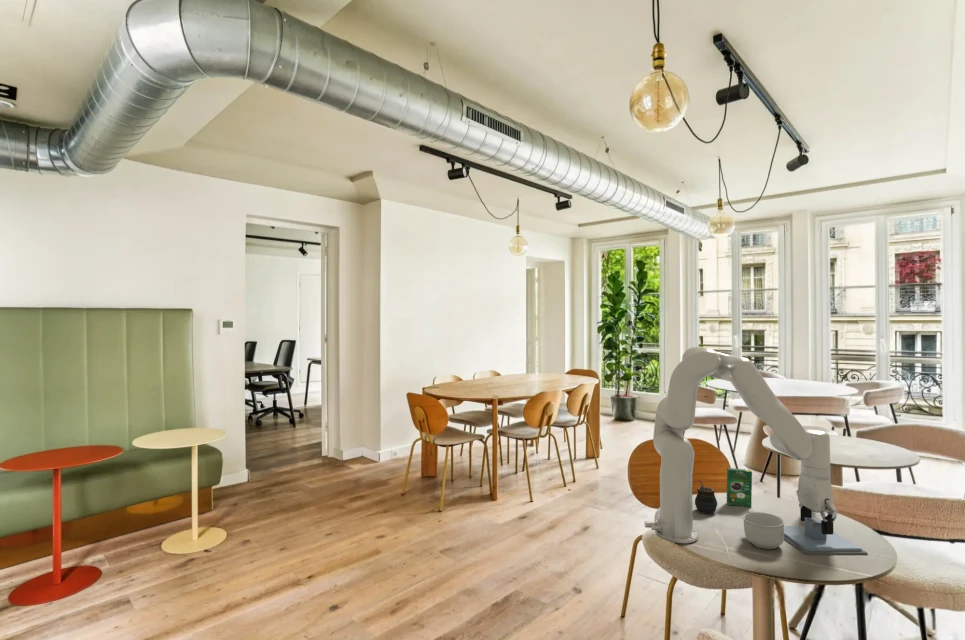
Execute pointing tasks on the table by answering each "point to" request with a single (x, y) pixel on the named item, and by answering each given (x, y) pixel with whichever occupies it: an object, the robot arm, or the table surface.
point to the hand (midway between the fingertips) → (816, 527)
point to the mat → (825, 551)
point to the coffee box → (739, 487)
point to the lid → (817, 538)
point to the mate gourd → (705, 500)
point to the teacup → (764, 529)
